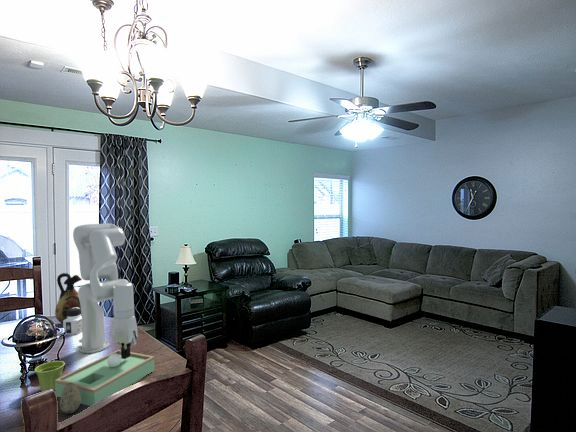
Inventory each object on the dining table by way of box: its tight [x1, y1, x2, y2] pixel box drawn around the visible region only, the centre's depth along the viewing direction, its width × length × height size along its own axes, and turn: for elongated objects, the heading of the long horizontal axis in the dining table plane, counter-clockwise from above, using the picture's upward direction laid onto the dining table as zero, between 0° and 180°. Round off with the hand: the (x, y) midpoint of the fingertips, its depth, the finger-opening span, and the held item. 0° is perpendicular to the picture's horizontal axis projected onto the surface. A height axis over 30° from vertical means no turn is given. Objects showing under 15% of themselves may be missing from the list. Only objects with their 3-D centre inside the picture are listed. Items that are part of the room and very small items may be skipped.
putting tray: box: [54, 349, 156, 407], centre depth 138 cm, size 20×28×6 cm
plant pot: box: [34, 360, 66, 392], centre depth 135 cm, size 9×9×9 cm
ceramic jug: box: [54, 272, 82, 327], centre depth 208 cm, size 17×15×30 cm
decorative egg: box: [59, 383, 81, 415], centre depth 119 cm, size 6×6×10 cm
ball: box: [107, 354, 121, 367], centre depth 141 cm, size 5×5×5 cm
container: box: [62, 307, 82, 335], centre depth 195 cm, size 8×8×13 cm
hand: (125, 357), depth 146 cm, fingers closed
